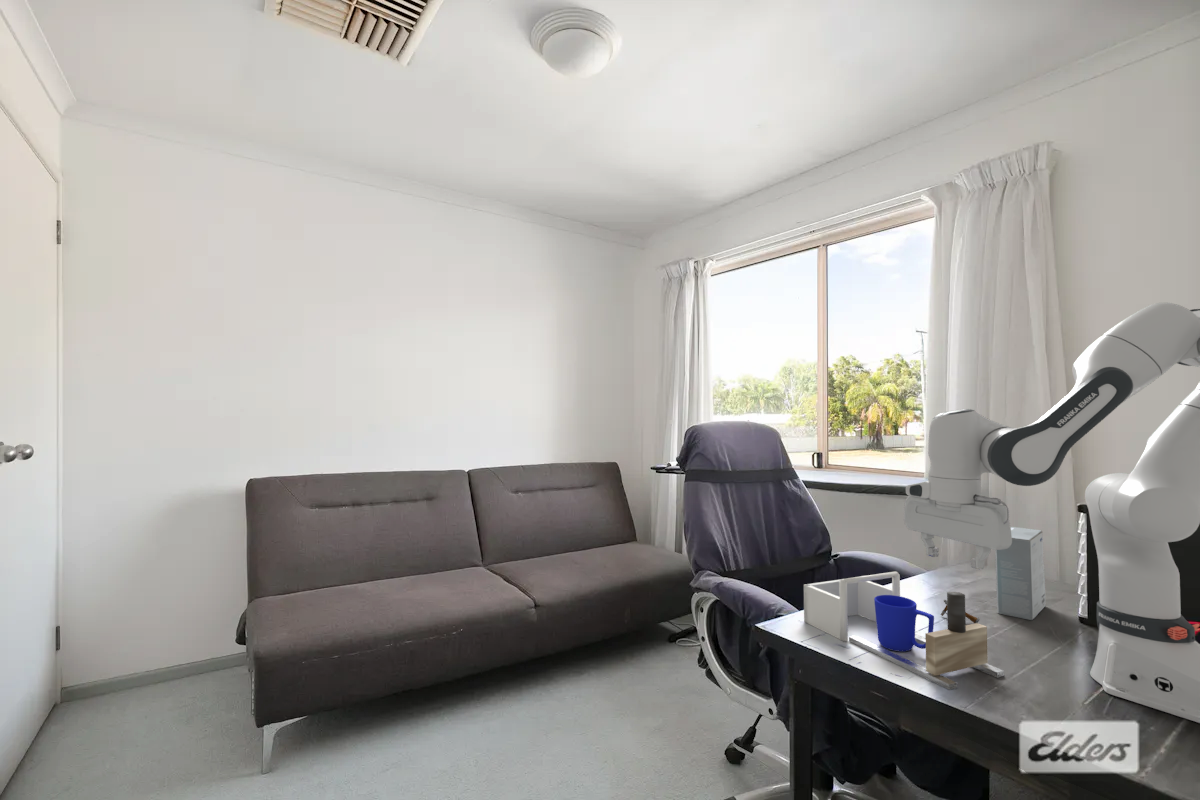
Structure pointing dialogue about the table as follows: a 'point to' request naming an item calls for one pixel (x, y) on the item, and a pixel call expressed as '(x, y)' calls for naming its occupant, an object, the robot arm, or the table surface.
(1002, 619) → the table surface
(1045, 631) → the table surface
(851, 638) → the rails
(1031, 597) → the hard drive box
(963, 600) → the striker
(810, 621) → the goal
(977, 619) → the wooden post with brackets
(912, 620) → the mug
